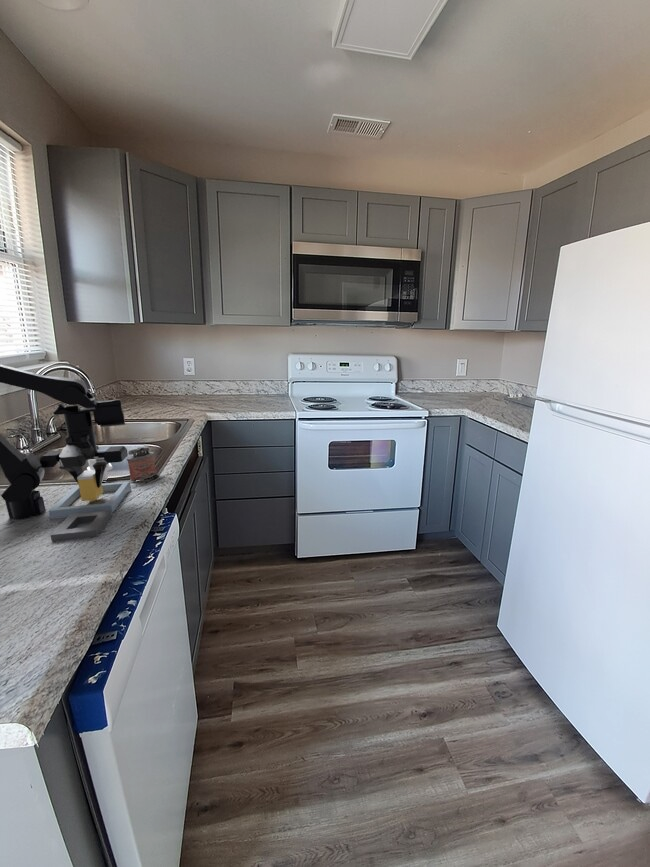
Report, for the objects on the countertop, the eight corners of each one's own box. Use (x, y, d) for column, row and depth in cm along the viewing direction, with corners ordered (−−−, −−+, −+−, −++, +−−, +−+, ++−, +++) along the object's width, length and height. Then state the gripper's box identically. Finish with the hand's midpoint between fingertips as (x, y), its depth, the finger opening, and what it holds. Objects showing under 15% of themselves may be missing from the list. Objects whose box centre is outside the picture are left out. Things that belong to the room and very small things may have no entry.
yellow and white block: (81, 501, 102) (77, 477, 100) (89, 493, 107) (84, 470, 105) (96, 499, 102) (92, 476, 101) (103, 492, 107) (99, 469, 105)
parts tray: (51, 522, 96) (48, 510, 96) (78, 495, 112) (76, 485, 111) (113, 516, 99) (111, 505, 98) (131, 491, 114) (129, 481, 113)
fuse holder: (52, 545, 86) (50, 534, 85) (72, 523, 95) (70, 514, 95) (97, 540, 87) (95, 530, 87) (112, 519, 97) (111, 510, 96)
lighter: (153, 473, 128) (149, 443, 125) (158, 475, 126) (154, 445, 123) (128, 480, 122) (123, 449, 119) (133, 483, 120) (128, 451, 117)
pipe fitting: (110, 484, 119) (105, 459, 117) (84, 486, 118) (80, 460, 116) (118, 477, 125) (114, 452, 123) (94, 478, 124) (90, 454, 122)
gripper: (21, 441, 91) (35, 504, 95) (109, 435, 94) (119, 496, 98) (45, 429, 101) (57, 486, 105) (123, 424, 104) (132, 480, 108)
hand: (91, 487), depth 104 cm, fingers closed on yellow and white block, 3 cm apart
